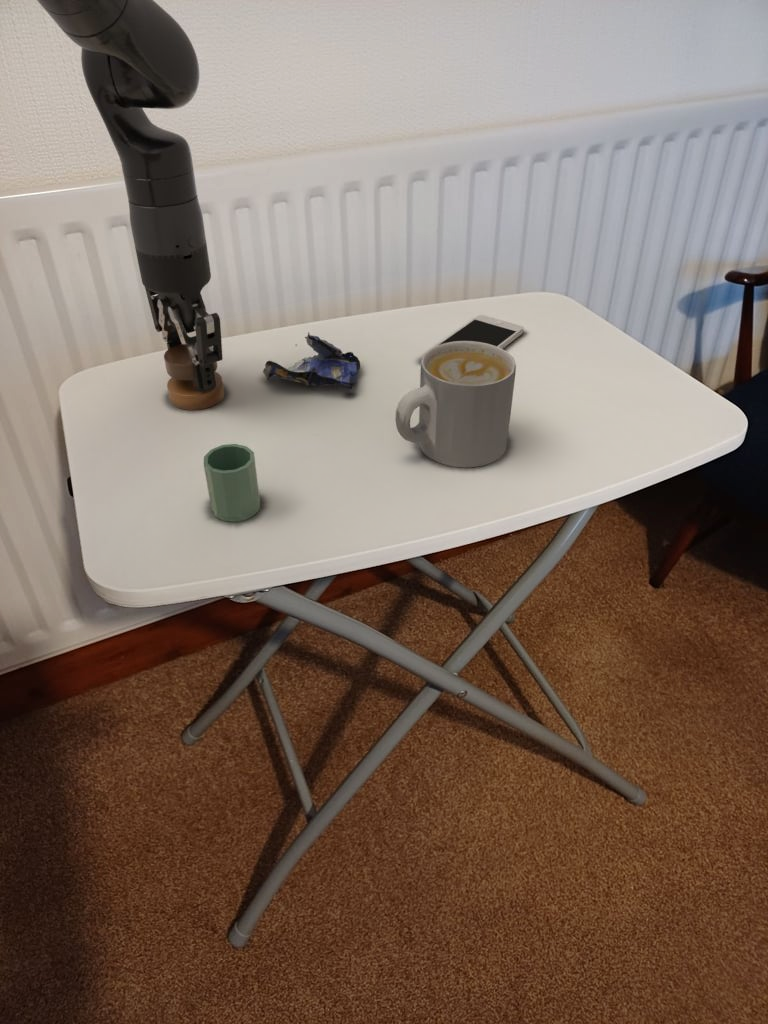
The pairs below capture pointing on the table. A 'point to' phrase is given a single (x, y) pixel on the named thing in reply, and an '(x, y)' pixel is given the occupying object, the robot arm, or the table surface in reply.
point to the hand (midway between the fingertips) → (193, 378)
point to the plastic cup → (232, 482)
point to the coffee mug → (461, 404)
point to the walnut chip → (180, 363)
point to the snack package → (319, 366)
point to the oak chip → (194, 394)
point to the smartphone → (486, 332)
